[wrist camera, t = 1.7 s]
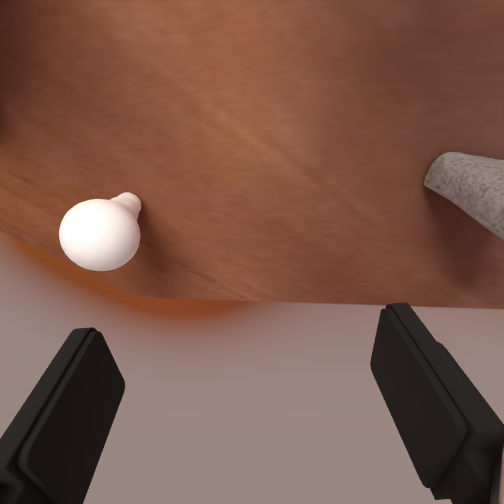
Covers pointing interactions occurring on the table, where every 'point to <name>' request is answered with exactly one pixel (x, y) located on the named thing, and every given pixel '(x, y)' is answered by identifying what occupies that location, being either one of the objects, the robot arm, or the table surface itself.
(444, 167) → the decorative stone
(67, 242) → the lightbulb
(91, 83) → the table surface
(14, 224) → the table surface
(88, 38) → the table surface
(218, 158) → the table surface
